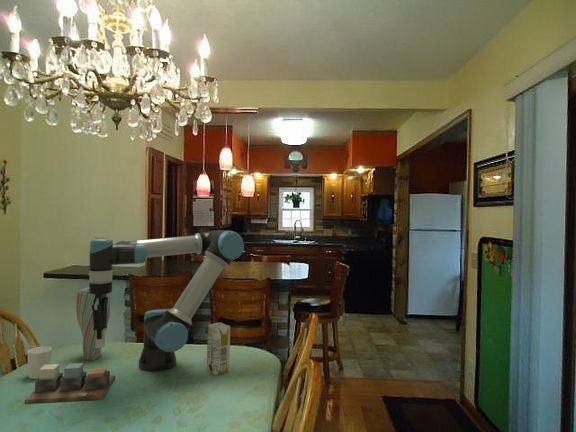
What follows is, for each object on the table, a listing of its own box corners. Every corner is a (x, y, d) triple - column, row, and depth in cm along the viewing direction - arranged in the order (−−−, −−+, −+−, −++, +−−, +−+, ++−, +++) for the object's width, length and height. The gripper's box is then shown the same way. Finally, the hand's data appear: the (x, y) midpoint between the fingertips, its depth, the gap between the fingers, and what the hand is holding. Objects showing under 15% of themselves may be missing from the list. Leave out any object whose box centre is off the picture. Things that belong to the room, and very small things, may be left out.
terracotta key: (106, 381, 148) (106, 368, 148) (102, 387, 143) (103, 373, 143) (92, 382, 147) (92, 368, 147) (88, 388, 142) (88, 373, 142)
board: (115, 378, 155) (115, 364, 155) (102, 399, 137) (103, 384, 137) (46, 381, 150) (47, 367, 150) (24, 403, 133) (25, 387, 133)
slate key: (83, 376, 146) (83, 363, 146) (78, 382, 142) (79, 368, 142) (68, 377, 146) (69, 363, 146) (63, 382, 141) (64, 368, 141)
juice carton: (215, 376, 159) (216, 328, 159) (204, 370, 166) (205, 323, 166) (231, 372, 164) (232, 325, 164) (220, 366, 171) (221, 321, 171)
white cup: (39, 380, 151) (40, 354, 151) (21, 378, 152) (22, 352, 152) (55, 373, 158) (56, 347, 158) (38, 371, 160) (39, 345, 160)
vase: (100, 363, 170) (102, 292, 170) (68, 362, 170) (70, 291, 170) (114, 352, 183) (116, 286, 183) (84, 351, 183) (86, 286, 184)
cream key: (59, 377, 145) (59, 364, 145) (54, 383, 140) (54, 369, 140) (44, 378, 144) (45, 364, 144) (38, 384, 139) (39, 369, 139)
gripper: (94, 279, 151) (94, 341, 151) (84, 285, 138) (83, 353, 138) (116, 278, 152) (115, 341, 153) (107, 284, 140) (106, 352, 140)
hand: (100, 347), depth 145 cm, fingers closed
